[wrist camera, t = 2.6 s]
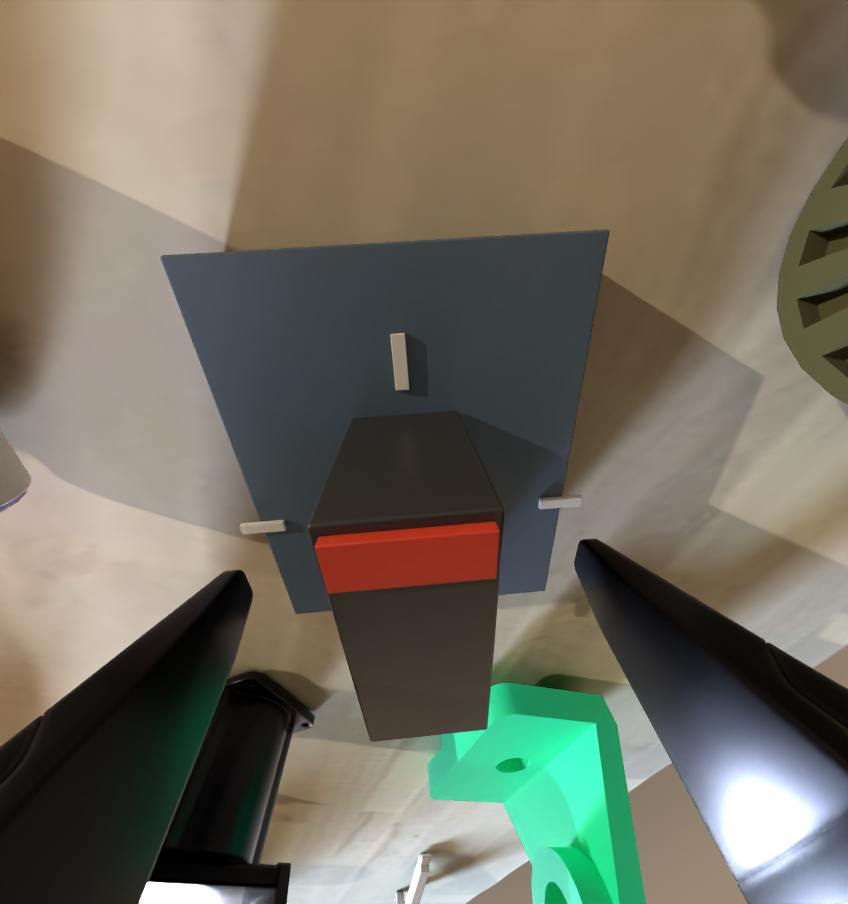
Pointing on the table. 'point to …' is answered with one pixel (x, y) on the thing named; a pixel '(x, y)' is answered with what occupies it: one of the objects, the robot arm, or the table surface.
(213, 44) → the table surface
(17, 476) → the infrared thermometer
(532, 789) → the camera mount
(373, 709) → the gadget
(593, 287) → the base
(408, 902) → the caliper
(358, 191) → the table surface
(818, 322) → the cannon
